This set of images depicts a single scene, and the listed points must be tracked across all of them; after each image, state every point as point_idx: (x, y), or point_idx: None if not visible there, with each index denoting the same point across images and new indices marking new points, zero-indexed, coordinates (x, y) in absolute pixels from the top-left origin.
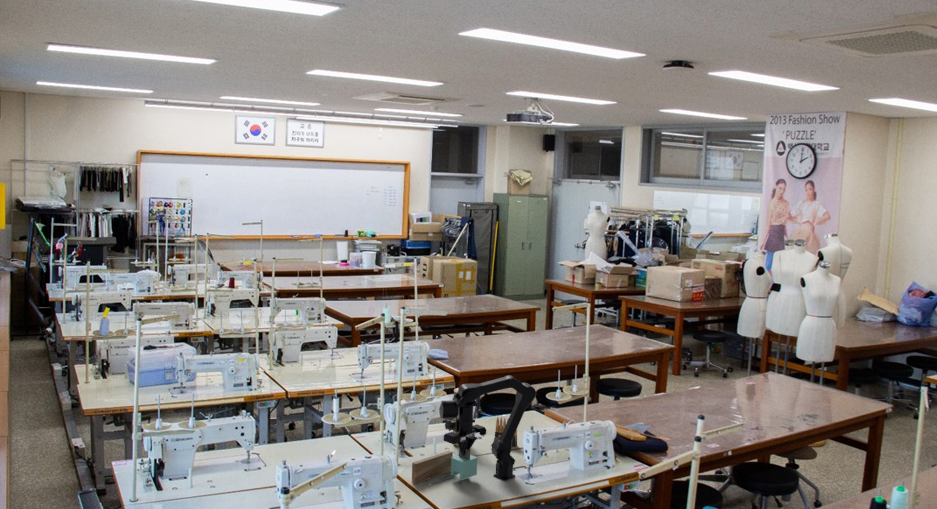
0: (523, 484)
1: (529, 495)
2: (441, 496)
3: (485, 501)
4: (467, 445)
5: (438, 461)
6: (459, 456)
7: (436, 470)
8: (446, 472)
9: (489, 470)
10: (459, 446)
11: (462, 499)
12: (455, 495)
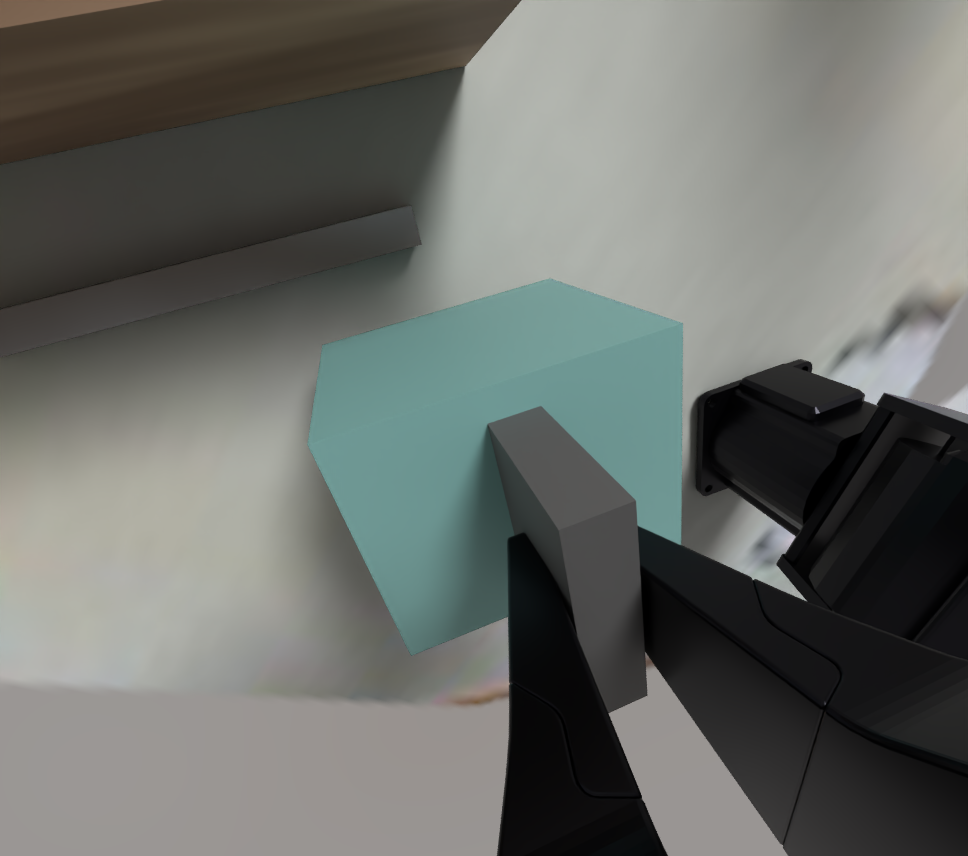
0: (733, 557)
1: (655, 666)
2: (100, 614)
3: (410, 704)
4: (719, 706)
5: (130, 59)
6: (489, 438)
7: (148, 110)
8: (368, 85)
9: (760, 272)
10: (511, 734)
11: (272, 672)
12: (242, 615)
